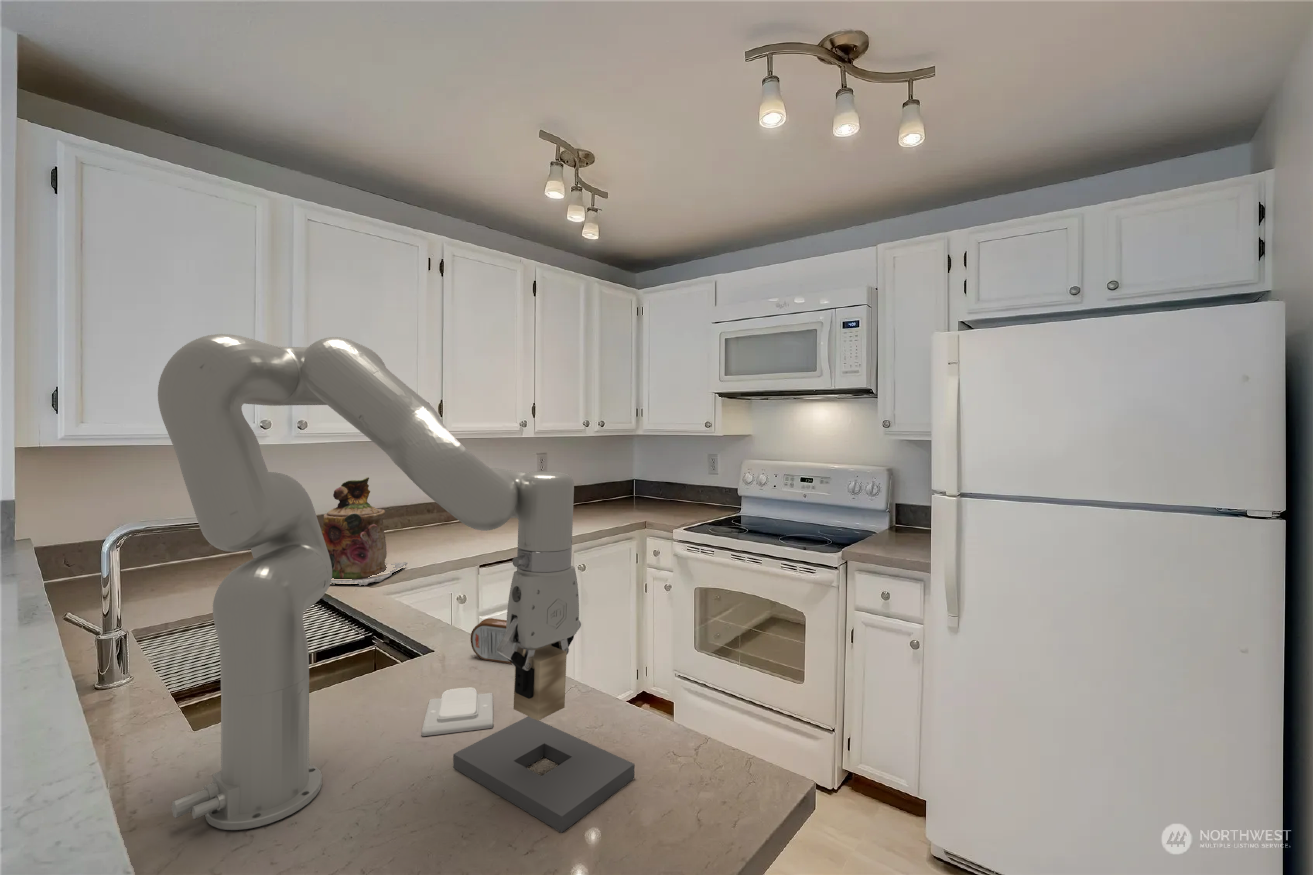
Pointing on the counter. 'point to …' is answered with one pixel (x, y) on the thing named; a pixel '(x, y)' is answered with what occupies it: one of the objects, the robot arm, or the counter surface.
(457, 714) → the light switch
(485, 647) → the tin
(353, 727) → the counter surface
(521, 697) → the beige rectangular block
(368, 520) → the cookie jar
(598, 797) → the grey plate with hole
